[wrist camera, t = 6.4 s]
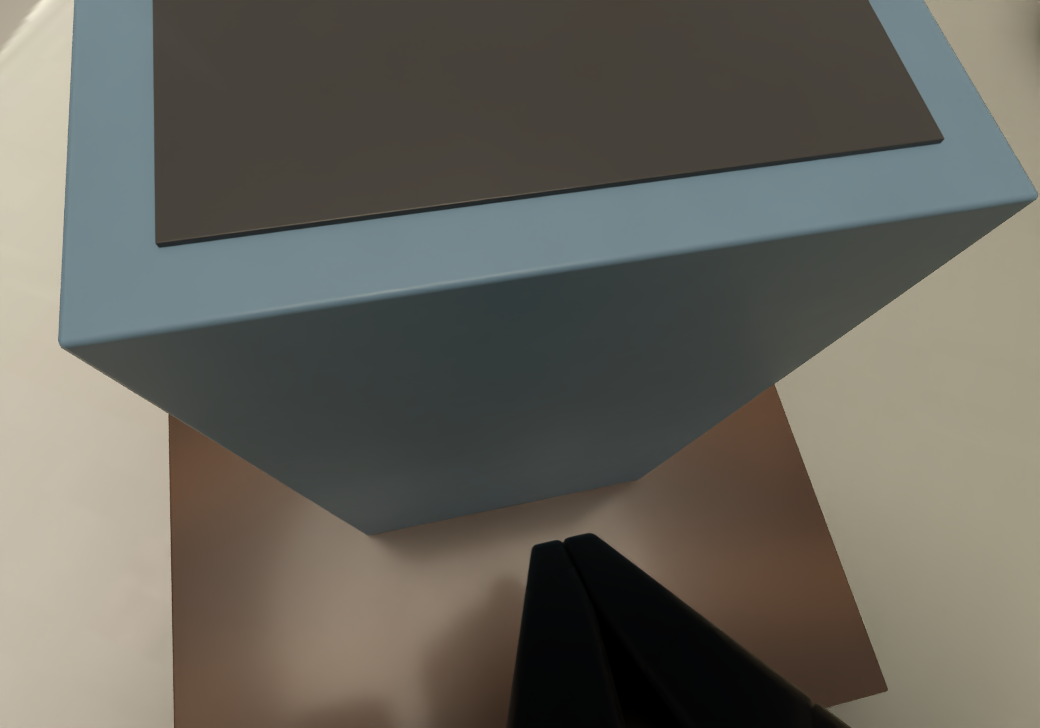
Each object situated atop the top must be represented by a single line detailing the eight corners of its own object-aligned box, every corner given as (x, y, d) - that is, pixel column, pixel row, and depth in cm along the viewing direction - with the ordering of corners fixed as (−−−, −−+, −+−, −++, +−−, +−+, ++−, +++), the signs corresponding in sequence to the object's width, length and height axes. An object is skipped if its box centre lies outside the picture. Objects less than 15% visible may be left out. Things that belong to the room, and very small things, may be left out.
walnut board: (859, 684, 16) (890, 691, 15) (200, 863, 13) (176, 887, 12) (628, 42, 23) (637, 13, 22) (177, 86, 21) (161, 57, 20)
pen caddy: (640, 479, 16) (1152, 120, 4) (366, 535, 15) (-53, 282, 3) (559, 192, 19) (714, -503, 7) (328, 222, 18) (44, -529, 6)
